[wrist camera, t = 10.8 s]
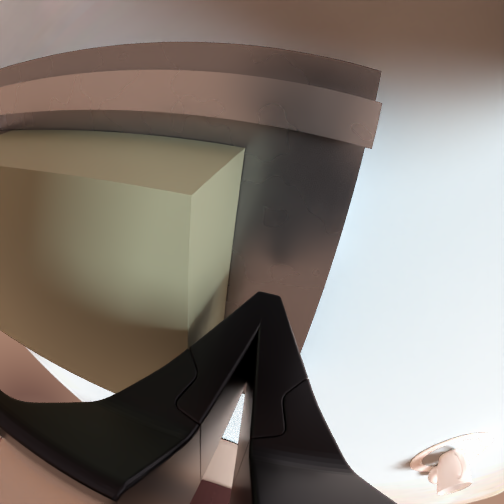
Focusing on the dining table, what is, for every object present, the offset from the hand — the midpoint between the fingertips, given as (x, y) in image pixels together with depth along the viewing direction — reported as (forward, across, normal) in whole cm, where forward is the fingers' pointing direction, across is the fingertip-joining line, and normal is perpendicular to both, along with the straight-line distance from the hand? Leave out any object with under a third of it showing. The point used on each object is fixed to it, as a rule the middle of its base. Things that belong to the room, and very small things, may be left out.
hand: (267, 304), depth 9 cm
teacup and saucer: (+4, -17, +18) cm, 25 cm away
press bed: (+3, +10, 0) cm, 11 cm away
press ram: (+1, +7, 0) cm, 7 cm away
